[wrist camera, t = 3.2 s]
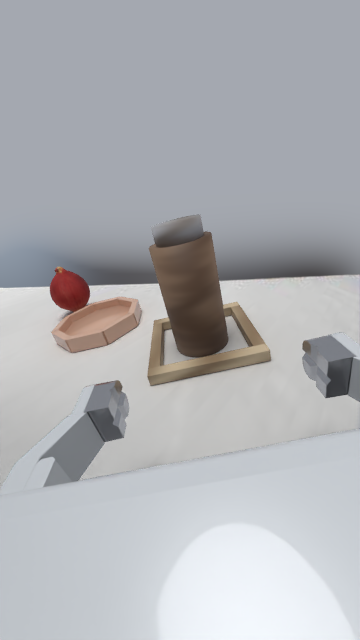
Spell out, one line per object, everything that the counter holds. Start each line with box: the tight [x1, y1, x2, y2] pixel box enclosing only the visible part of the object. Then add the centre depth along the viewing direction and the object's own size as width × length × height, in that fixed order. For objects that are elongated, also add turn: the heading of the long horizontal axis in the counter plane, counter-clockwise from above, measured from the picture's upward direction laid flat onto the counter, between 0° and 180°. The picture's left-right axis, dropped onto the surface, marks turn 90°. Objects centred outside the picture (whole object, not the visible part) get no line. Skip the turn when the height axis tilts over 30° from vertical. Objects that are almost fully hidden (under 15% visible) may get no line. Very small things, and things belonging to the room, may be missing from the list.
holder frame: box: [147, 302, 271, 386], centre depth 24 cm, size 10×10×1 cm
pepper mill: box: [149, 215, 228, 357], centre depth 21 cm, size 5×5×12 cm
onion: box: [50, 267, 90, 312], centre depth 38 cm, size 6×6×8 cm
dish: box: [52, 297, 142, 353], centre depth 32 cm, size 11×11×2 cm
